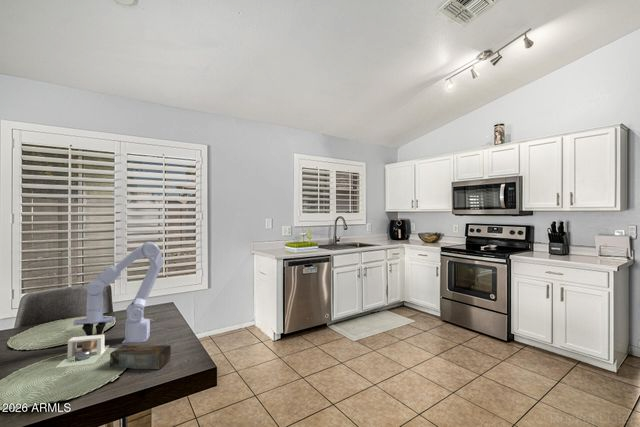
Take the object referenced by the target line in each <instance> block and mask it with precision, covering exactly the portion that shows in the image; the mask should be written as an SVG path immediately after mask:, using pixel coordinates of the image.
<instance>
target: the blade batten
mask: <svg viewBox="0 0 640 427" xmlns="http://www.w3.org/2000/svg"><path fill="white" fill-rule="evenodd" d="M92 335H97V332H96V331H95V332H94V333H93V334H92ZM92 335H91V336H92ZM101 335H104V329H103V331H102V334H101ZM96 346H97V341H96V340H94V341H83V342H82V343H81V348H82V350H83V349H90V350H91V351H92V350H93V349H94V348H95V347H96Z"/></svg>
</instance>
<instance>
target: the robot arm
mask: <svg viewBox="0 0 640 427" xmlns="http://www.w3.org/2000/svg"><path fill="white" fill-rule="evenodd" d="M145 257H147V259H148V261H149V262H150V264H149V266H148V269H147V271H146V274H145V275H144V277H143V280H142V281H141V284H140V287H139V289H138V291H137V293H136V294H135V297H134V298H133V300H132V302H131V303H130V304H129V305H127V308H126V310H125V311H126V317H127V318H126V319H125V320H124V321H125V323H124V326H125V328H124V332H125V333H124V334H125V335H124V340H122V342H121V344H127V343H139V342H146V341H147V340H148V339H149V337H150V335H151V334H150V332H151V320H150V319H149V318H145V317H144V312H145V311H144V310H145V306H146V303H147V300H148V298H149V295H150V293H151V291H152V289H153V286H154V284H155V282H156V280H157V278H158V276H159V273H160V271H161V269H162V267H163V265H164V260H163V256H162V250H161V249H160V247H159V246H158V244H157V243H155V242H153V241H146V242H144V243H143V244H142V245H140V246H138V247H137V248H135V249H133V250H132V251H131V252H130V253H128V255H126V257H124V258H123V259H122V260H121V261H119V263H117V264H116V265H114V266H113V265H111V266H108V267H104V271H103V272H101V273H99V275H98V276H94V277H93V279H92V280H90V281H89V282H88V284H87V286H86V291H87V294H86V297H87V298H86V318H81V319H74V321H73V325H72V326H73V327H74V326H75V327H76V326H81V325H82V327H81V328H82V330H83V332H84V333H85V336H91V335H92V334H94V333H93V332H94V331H93V330H94V325H95V324H96V325H95V330H96V331H95V332H97V335H101V334H102V331H103V330H104V328H105V327H106V325H107V324H108V323H112V324H114V323H115V322H116V316H104V296H103V293H104V289H105V287H108V286H109V285H110V284H112V283H113V282H114V281H116V280H117V279H118V278H120V277H121V273H122V271H123V270H124V269H125V268H127V267H128V266H129V265H131V264H132V263H134V262H135V261H136V260H137V259H143V258H145ZM96 341H97V340H96Z"/></svg>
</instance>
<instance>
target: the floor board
mask: <svg viewBox="0 0 640 427" xmlns="http://www.w3.org/2000/svg"><path fill="white" fill-rule="evenodd" d="M110 346H111V345H109V344H108V345H107V344H106V345H104V351H103V352H102V353H101V354H98V355H97V346H96V347H95V348H94V349H93V350H92V351H91V357H90V358H88V359H86V360H82V361H74V360H70V361H69V360H67V359H66V358H67V357H68V356H66V358H64V359H63V360H62V361H61V362H60V363H58V364H57V365H56V367H54V368H63V367H65V368H66V367H74V366H81V365H82V366H83V365H89V364H91V365H92V364H95V363H96V362H97V361H98V360H99V359H100V357H101V356H102V355H103V354H104V353H105V352H106V350H107V349H108V348H109V347H110ZM79 350H82V347H77V351H79ZM74 356H75V355H74ZM70 358H71V357H70ZM72 361H73V362H72Z"/></svg>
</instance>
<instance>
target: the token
mask: <svg viewBox="0 0 640 427" xmlns="http://www.w3.org/2000/svg"><path fill="white" fill-rule="evenodd" d="M90 357H91V350H90V349H83V350H79V351H77V352H75V361H82V360H86V359H88V358H90Z"/></svg>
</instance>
